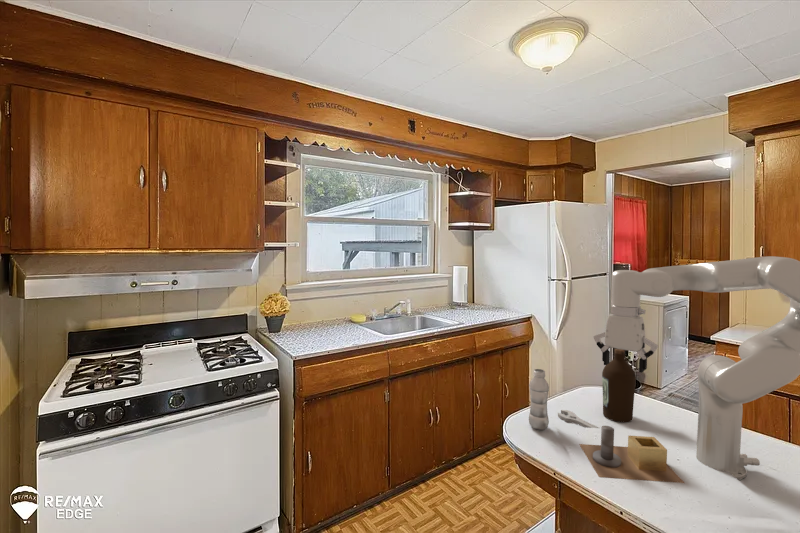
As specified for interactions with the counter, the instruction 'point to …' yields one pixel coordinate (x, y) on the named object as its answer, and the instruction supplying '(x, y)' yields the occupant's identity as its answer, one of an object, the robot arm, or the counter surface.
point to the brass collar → (647, 453)
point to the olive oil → (618, 389)
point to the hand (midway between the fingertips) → (623, 367)
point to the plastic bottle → (538, 401)
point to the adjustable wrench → (574, 419)
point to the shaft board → (621, 461)
